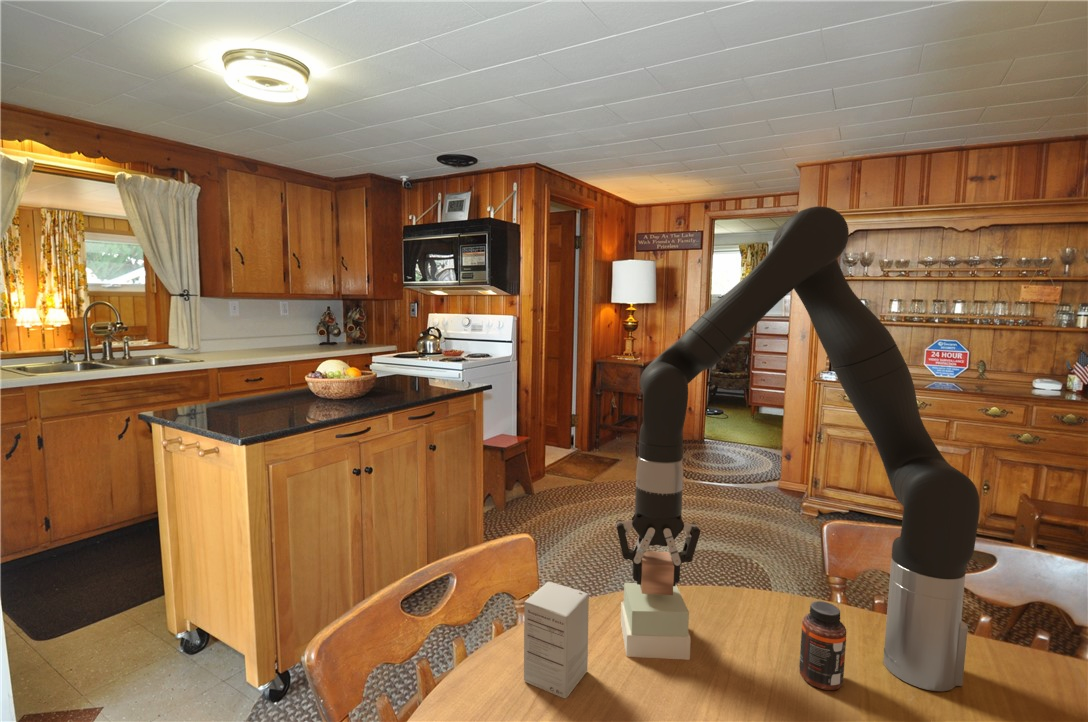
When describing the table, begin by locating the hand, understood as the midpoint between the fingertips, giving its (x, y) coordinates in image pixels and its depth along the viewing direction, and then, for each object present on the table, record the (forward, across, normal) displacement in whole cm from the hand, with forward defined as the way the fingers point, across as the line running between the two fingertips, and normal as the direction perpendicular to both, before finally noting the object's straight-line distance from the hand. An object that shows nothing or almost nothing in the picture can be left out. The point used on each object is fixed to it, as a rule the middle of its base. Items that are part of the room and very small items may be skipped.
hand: (655, 582), depth 90 cm
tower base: (+10, 0, 0) cm, 10 cm away
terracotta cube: (+1, 0, 0) cm, 1 cm away
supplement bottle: (+10, -24, +8) cm, 27 cm away
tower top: (+6, 0, 0) cm, 6 cm away
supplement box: (+10, +16, +11) cm, 22 cm away
